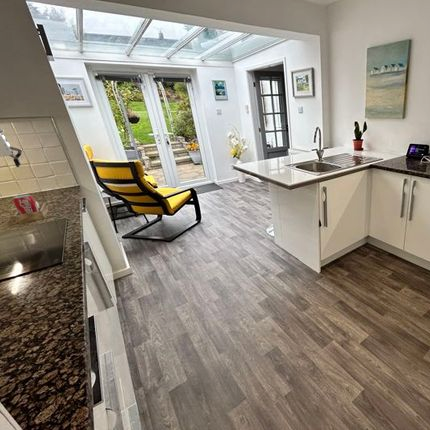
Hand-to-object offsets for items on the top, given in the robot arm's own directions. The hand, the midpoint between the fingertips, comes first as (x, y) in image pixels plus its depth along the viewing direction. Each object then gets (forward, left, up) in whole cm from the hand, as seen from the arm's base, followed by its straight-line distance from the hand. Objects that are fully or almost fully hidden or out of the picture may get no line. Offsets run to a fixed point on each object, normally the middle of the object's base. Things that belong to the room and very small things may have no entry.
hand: (4, 168), depth 132 cm
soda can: (+3, -10, -26) cm, 27 cm away
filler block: (+3, 0, -26) cm, 26 cm away
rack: (+3, -5, -26) cm, 27 cm away
